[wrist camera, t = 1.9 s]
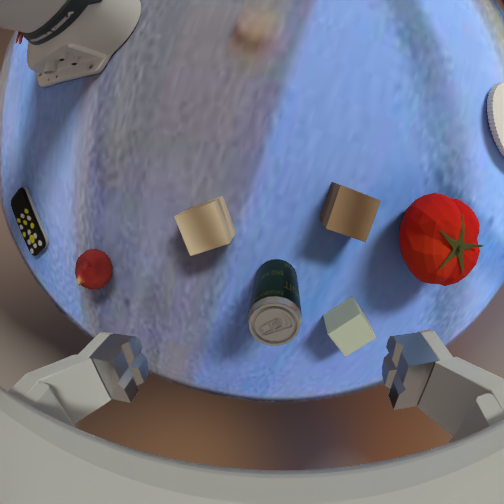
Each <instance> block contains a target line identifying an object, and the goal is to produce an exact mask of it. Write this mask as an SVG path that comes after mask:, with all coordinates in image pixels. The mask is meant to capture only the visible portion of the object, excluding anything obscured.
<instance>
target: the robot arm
mask: <svg viewBox="0 0 504 504" xmlns="http://www.w3.org/2000/svg"><path fill="white" fill-rule="evenodd" d="M140 13H141V3H140V0H0V28H7V29H12V30H16V31H18V34H17V39H16V43H17V41H18V38H19V44H21V43H22V38H23V36H24V37H25V38H26V39H27V40H28V41H29V42H28V50H27V63H28V66H29V68H30V69H31V70H33V71H35V72H36V74H37V80H38V83H39V85H40V86H41V87H47V86H50V85H54V84H57V83H60V82H64V81H68V80H72V79H76V78H80V77H84V76H88V75H93V74H98V73H100V72H101V71H102V70H103V69H104V68H105V66H106V64H107V63H108V61H109V59H110V57H111V55H112V54H113V53H114V52H115V51H116V50H117V49H118V48H119V47H120V46H121V45H122V44H123V43H124V42H125V41H126V40H127V38H128V37H129V36H130V34H131V33H132V31H133V30H134V28H135V26H136V25H137V22H138V20H139V17H140ZM92 66H93V67H92ZM141 349H142V344H141V342H140V339H139V338H137V337H135V336H128V335H121V334H113V333H107V332H101V333H99V334H98V335H97V336H96V337H95V338H94V339H93V340H92V341H91V342H90V343H89V344H88V345H87V346H86V347H85V348H84V349H83V350H82V351H81V352H80V353H79V354H78V355H72V356H70V357H67V358H65V359H62V360H60V361H57V362H55V363H52V364H50V365H47V366H45V367H42V368H40V369H37V370H34V371H32V372H29V373H27V374H25V375H24V376H23V377H22V378H21V379H20V380H19V381H18V382H17V383H16V384H15V385H14V386H13V387H12V388H11V389H10V390H9V391H6V390H5V389H3V388H1V387H0V504H504V379H503V378H501V377H498V376H496V375H494V374H492V373H490V372H488V371H486V370H483V369H481V368H479V367H477V366H475V365H473V364H470V363H468V362H467V361H464V360H462V359H460V358H458V357H455V358H453V357H452V355H451V354H450V352H449V351H448V350H447V348H446V347H445V345H444V344H443V343H442V341H441V340H440V339H439V337H438V336H437V334H436V333H435V332H434V331H433V330H426V331H420V332H417V333H411V334H404V335H396V336H390V337H389V339H388V342H387V349H388V352H389V353H388V354H387V355H386V356H385V357H384V360H383V365H382V376H383V381H384V384H385V386H386V387H388V388H390V392H389V395H388V396H389V398H390V401H391V404H392V407H393V410H396V409H402V408H408V407H413V406H418V408H419V409H421V410H422V411H423V412H424V413H426V414H427V415H428V416H429V417H430V418H431V419H433V420H434V421H435V422H436V423H437V424H439V425H440V426H441V427H442V428H444V429H445V430H446V431H447V432H448V433H450V434H451V435H452V436H453V437H452V439H451V440H450V441H449V443H448V444H445V445H442V446H439V447H436V448H432V449H429V450H426V451H422V452H419V453H415V454H412V455H408V456H403V457H399V458H395V459H390V460H385V461H380V462H375V463H370V464H363V465H356V466H349V467H341V468H330V469H319V470H318V469H317V470H296V471H295V470H294V471H272V470H271V471H270V470H249V469H236V468H226V467H217V466H210V465H203V464H197V463H191V462H186V461H180V460H176V459H170V458H166V457H162V456H158V455H154V454H150V453H146V452H142V451H139V450H135V449H132V448H129V447H125V446H122V445H119V444H116V443H113V442H110V441H108V440H105V439H102V438H99V437H97V436H94V435H92V434H89V433H87V432H84V431H82V430H79V429H77V428H76V426H75V425H74V424H75V423H76V422H78V421H80V420H81V419H83V418H84V417H86V416H87V415H89V414H90V413H92V412H93V411H95V410H96V409H98V408H99V407H101V406H103V405H104V404H105V403H107V402H109V401H110V400H111V399H115V400H119V401H124V402H128V403H131V402H132V400H133V399H134V397H135V396H136V394H137V392H138V391H139V390H138V385H139V384H141V383H143V382H144V381H145V379H146V377H147V374H148V362H147V359H146V357H145V356H144V355H143V354H142V353H141Z"/></svg>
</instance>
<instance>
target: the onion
mask: <svg viewBox="0 0 504 504" xmlns="http://www.w3.org/2000/svg"><path fill="white" fill-rule="evenodd" d="M112 268H113V267H112V263H111V260H110V258H109V257H108V255H106V254H105V253H104V252H103V251H100V250H97V249H90V250H87V251H85V252H84V253H83V254H82V255H81V256H80V257H79V258H78V260H77V262H76V269H75V275H76V278H77V284H78V285H82V286H83V287H85V288H88V289H91V290H93V289H100V288H102V287H104V286H105V285H106V284H107V283H108V282H109V281H110V278H111V276H112Z"/></svg>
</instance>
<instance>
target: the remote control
mask: <svg viewBox="0 0 504 504" xmlns="http://www.w3.org/2000/svg"><path fill="white" fill-rule="evenodd" d="M11 207H12V210H13V212H14V215H15V218H16V220H17V223H18V225H19V228H20V230H21V233H22V235H23V237H24V240H25V242H26V244H27V247H28V249H29V251H30V253H31V254H32V255H34V256H36V255H38V254H40V253H41V252H42V251H43V250H44V249H45V248H46V247H47V246H48V244H49V240H48V236H47V234H46V232H45V230H44V227H43V225H42V223H41V220H40V218H39V216H38V213H37V211H36V208H35V206H34V203H33V200H32V198H31V195H30V192H29V190H28V188H27V187H22V188H20V189H19V190H18V191H17V193H16V194H15V195H14V197H13V198H12V200H11Z"/></svg>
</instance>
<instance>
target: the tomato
mask: <svg viewBox="0 0 504 504" xmlns="http://www.w3.org/2000/svg"><path fill="white" fill-rule="evenodd" d="M478 234H479V221H478V219H477V217H476V215H475V213H474V212H473V211H472V210H471V208H470V207H469V206H467V205H466V204H465V203H463V202H462V201H460V200H458V199H453V198H449V197H447V196H445V195H442V194H438V193H432V194H428V195H424V196H422V197H420V198H418V199H417V200H415V201H414V202H413V203H412V204H411V205H410V206H409V207H408V208H407V209H406V211H405V214H404V217H403V219H402V222H401V225H400V227H399V244H400V249H401V253H402V256H403V258H404V260H405V262H406V264H407V266H408V268H409V270H410V271H411V272H412V273H413V274H414V275H415V276H416V277H417V278H418V279H419V280H420V281H422V282H426V283H430V284H441V285H444V286H446V285H450V284H454V283H457V282H459V281H460V280H461V279H463V278H464V277H466V276H467V275H468V274H469V273H470V271H471V270H472V269H473V268H474V266H475V265H476V263H477V260H478V256H479V252H480V250H479V247H482V246H484V245H478V241H477V237H478Z"/></svg>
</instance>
